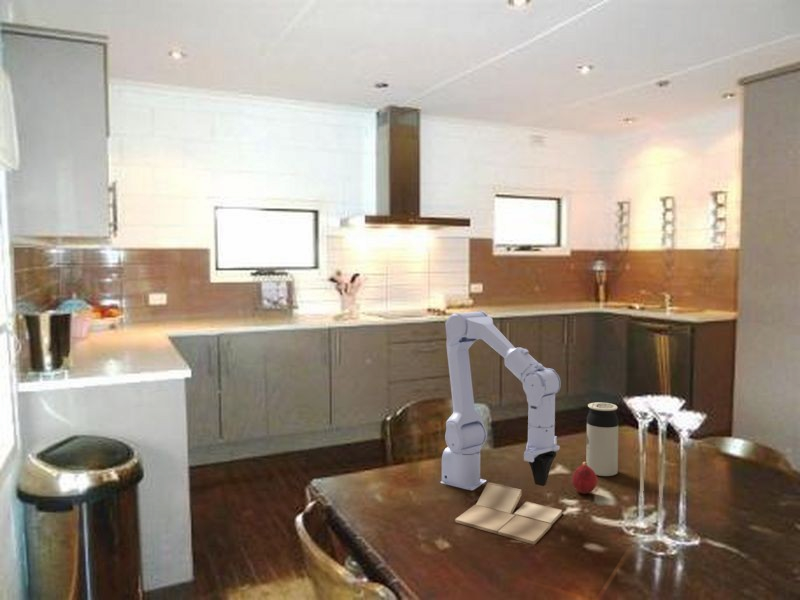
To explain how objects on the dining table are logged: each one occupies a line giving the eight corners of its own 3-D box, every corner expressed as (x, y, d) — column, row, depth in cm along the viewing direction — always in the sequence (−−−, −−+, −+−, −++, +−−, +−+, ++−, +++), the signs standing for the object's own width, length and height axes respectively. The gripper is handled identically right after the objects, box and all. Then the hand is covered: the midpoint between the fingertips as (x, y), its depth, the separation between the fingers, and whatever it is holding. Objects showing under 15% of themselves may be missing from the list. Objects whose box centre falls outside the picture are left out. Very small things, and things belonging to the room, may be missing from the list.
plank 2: (513, 518, 129) (513, 513, 129) (526, 506, 134) (526, 501, 134) (550, 528, 124) (550, 522, 124) (562, 515, 130) (562, 510, 130)
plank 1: (477, 508, 134) (475, 504, 134) (489, 485, 139) (488, 481, 139) (511, 517, 129) (509, 513, 129) (522, 493, 134) (521, 489, 134)
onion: (598, 500, 138) (598, 467, 138) (573, 498, 139) (573, 465, 139) (595, 490, 144) (595, 459, 143) (571, 489, 145) (571, 457, 145)
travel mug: (620, 469, 158) (621, 404, 157) (613, 479, 151) (614, 410, 150) (590, 464, 162) (591, 400, 161) (582, 473, 156) (583, 406, 155)
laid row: (454, 524, 126) (454, 519, 126) (474, 509, 134) (474, 504, 134) (534, 547, 116) (534, 541, 116) (551, 529, 123) (551, 524, 123)
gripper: (546, 435, 121) (545, 499, 122) (570, 419, 133) (569, 477, 134) (514, 429, 125) (514, 491, 126) (540, 414, 137) (539, 471, 138)
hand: (540, 484), depth 130 cm, fingers closed
